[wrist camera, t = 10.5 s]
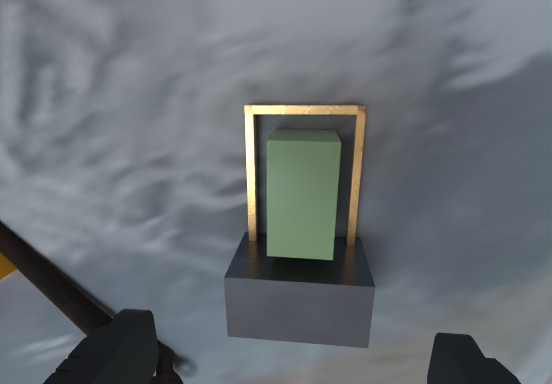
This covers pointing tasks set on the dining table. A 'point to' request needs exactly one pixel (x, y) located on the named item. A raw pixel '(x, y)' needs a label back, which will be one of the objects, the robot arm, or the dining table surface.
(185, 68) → the dining table surface
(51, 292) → the wrench
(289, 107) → the grey block with frame
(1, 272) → the pipe clamp
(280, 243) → the sage green upright block
